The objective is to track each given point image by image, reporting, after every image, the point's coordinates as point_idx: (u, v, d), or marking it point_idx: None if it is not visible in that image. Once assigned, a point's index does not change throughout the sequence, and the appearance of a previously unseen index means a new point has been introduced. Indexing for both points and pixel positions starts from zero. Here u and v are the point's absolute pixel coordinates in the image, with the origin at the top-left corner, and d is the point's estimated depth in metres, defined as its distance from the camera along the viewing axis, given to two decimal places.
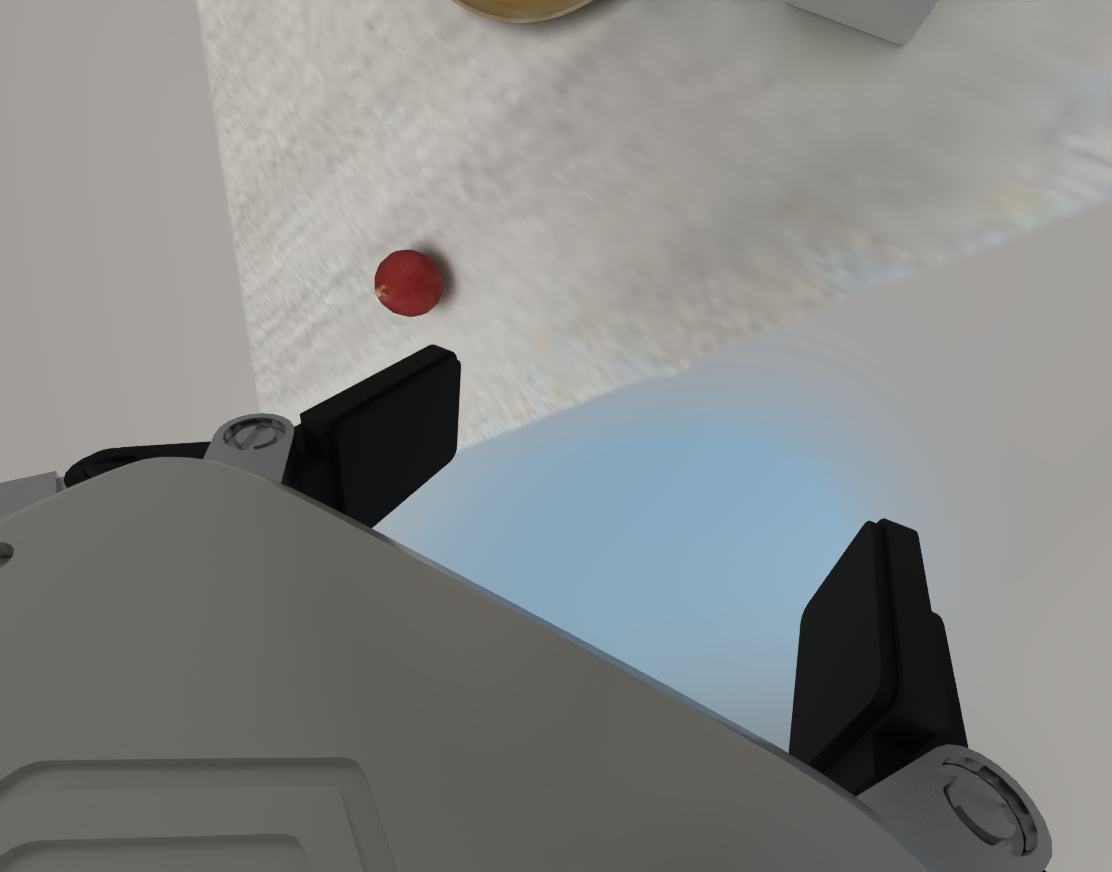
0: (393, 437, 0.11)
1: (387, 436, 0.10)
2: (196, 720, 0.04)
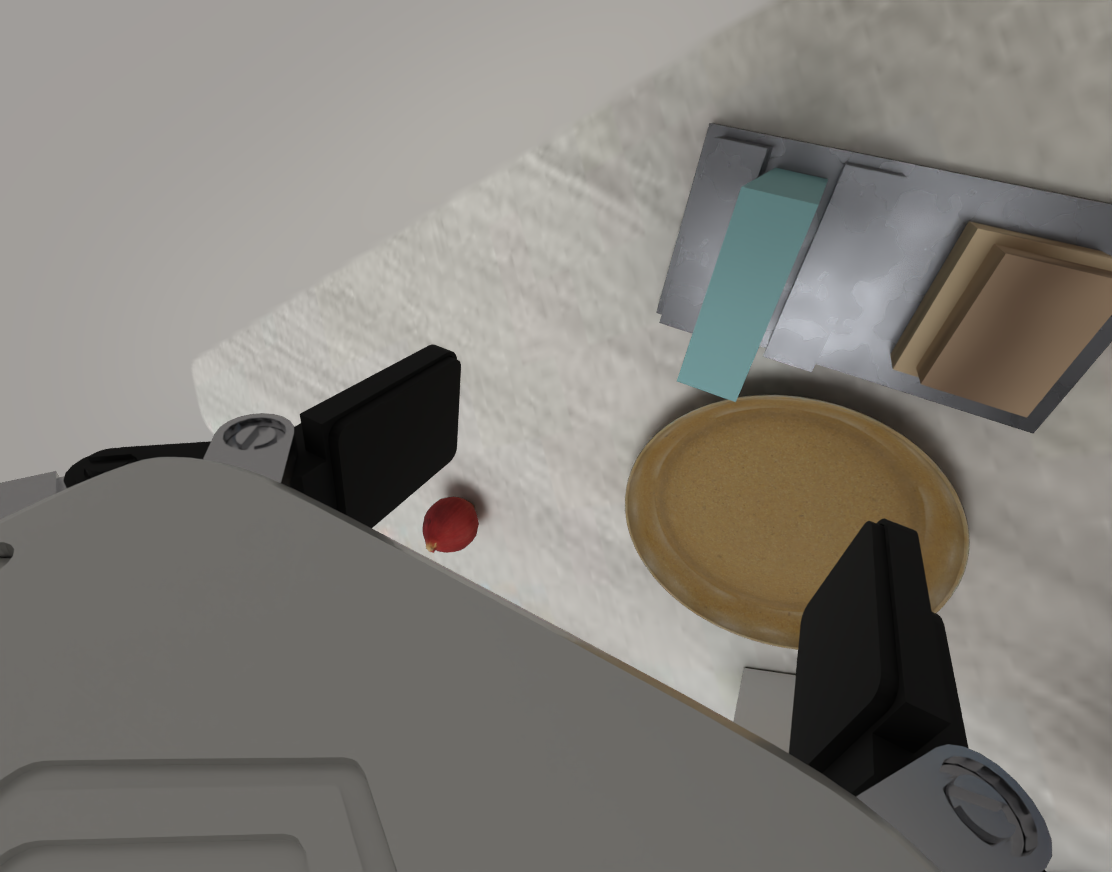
0: (393, 437, 0.11)
1: (387, 436, 0.10)
2: (196, 720, 0.04)
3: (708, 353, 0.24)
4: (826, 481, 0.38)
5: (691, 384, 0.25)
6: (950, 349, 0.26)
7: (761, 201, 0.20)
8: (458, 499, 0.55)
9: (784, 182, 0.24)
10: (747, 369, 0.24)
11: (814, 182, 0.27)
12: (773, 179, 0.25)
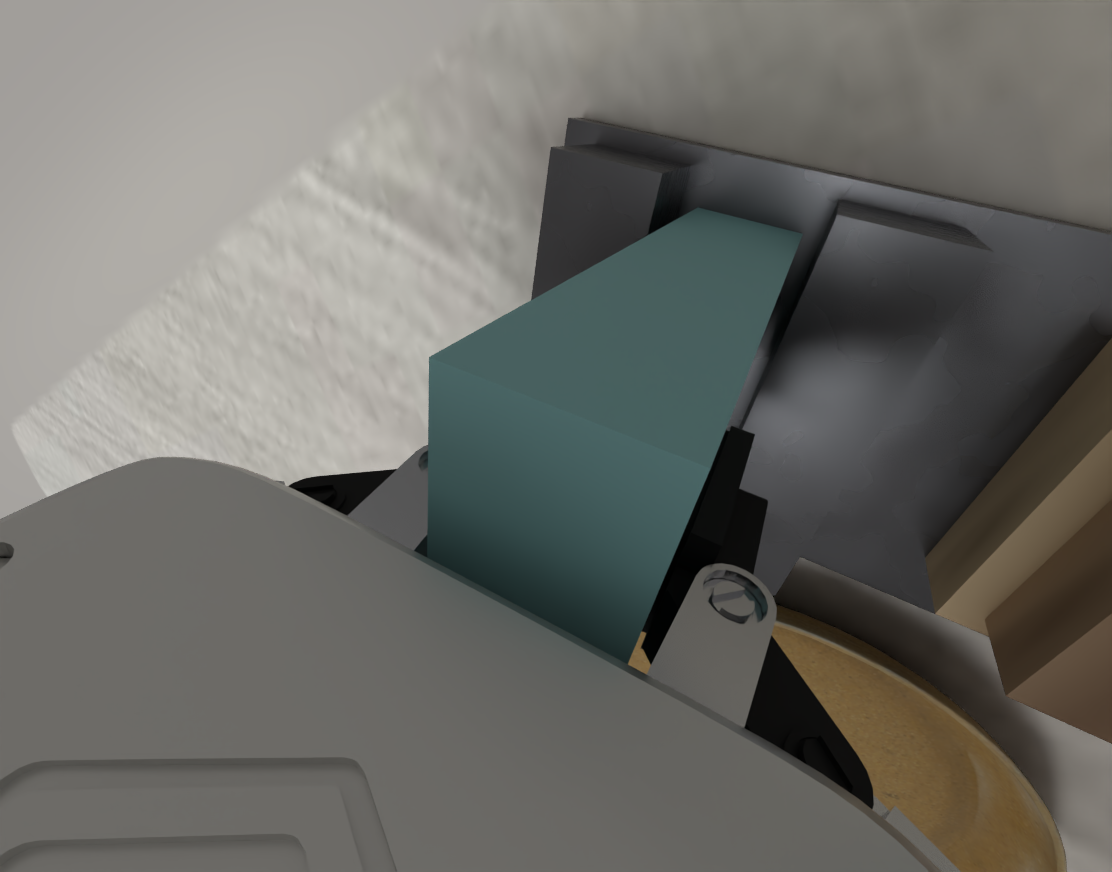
0: None
1: None
2: (196, 720, 0.04)
3: None
4: None
5: None
6: (1085, 650, 0.11)
7: (504, 415, 0.05)
8: None
9: (673, 273, 0.09)
10: None
11: (765, 255, 0.11)
12: (648, 262, 0.09)
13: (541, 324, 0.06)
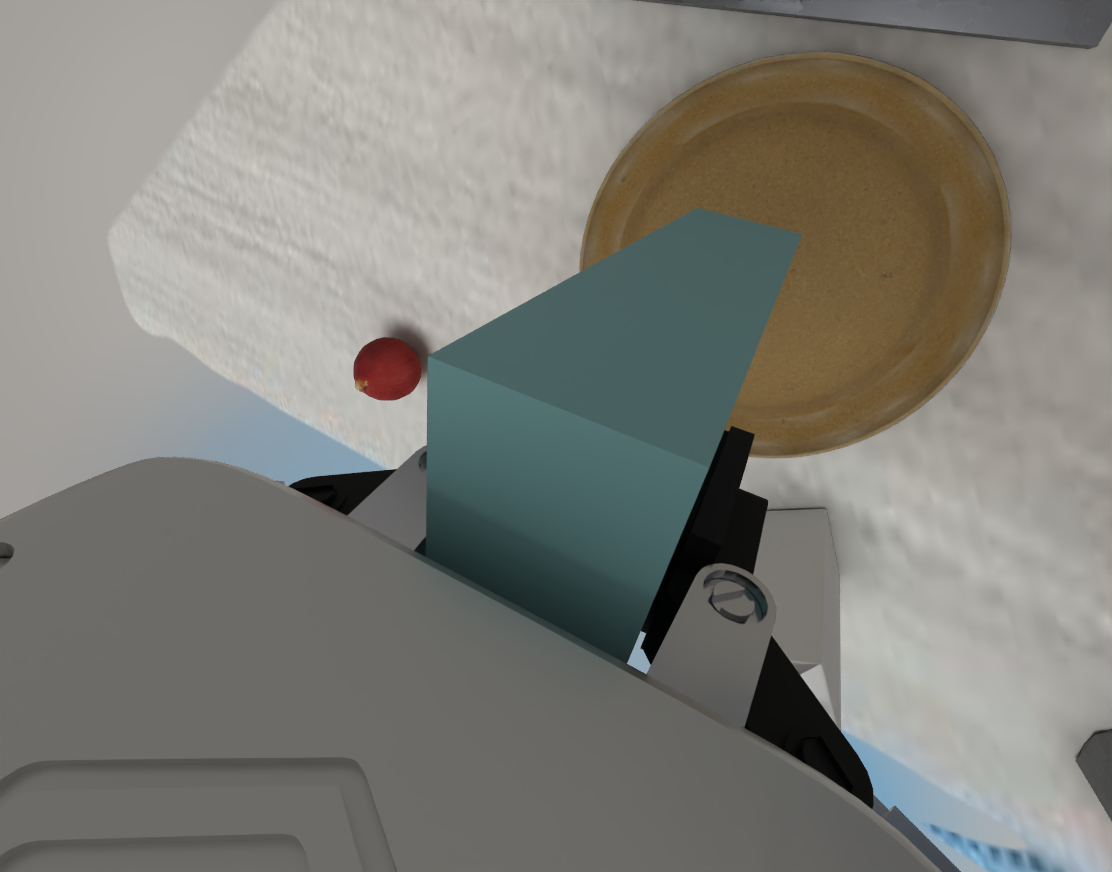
0: None
1: None
2: (196, 720, 0.04)
3: None
4: (823, 208, 0.30)
5: None
6: None
7: (502, 414, 0.05)
8: (395, 338, 0.48)
9: (672, 273, 0.09)
10: None
11: (764, 255, 0.11)
12: (647, 262, 0.09)
13: (540, 323, 0.06)
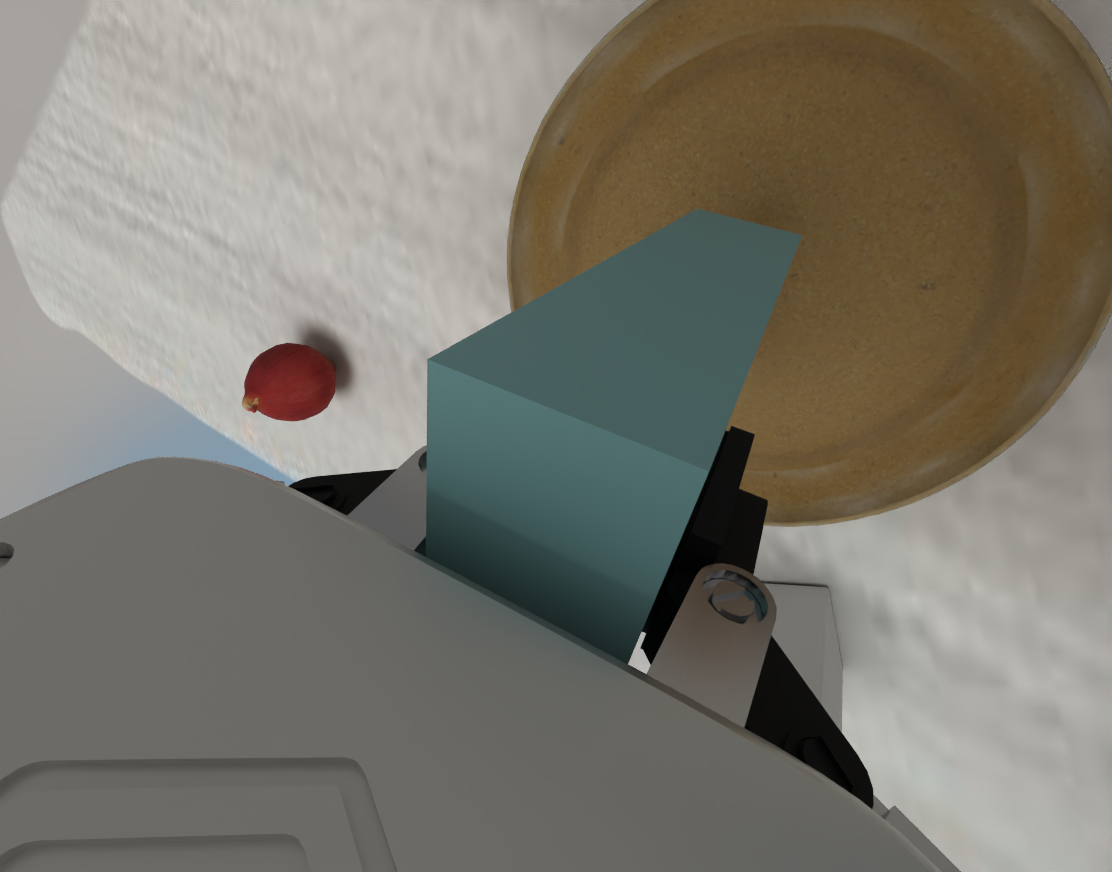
0: None
1: None
2: (196, 720, 0.04)
3: None
4: (838, 187, 0.21)
5: None
6: None
7: (502, 417, 0.05)
8: (302, 345, 0.38)
9: (672, 275, 0.09)
10: None
11: (764, 256, 0.11)
12: (647, 264, 0.09)
13: (540, 326, 0.06)
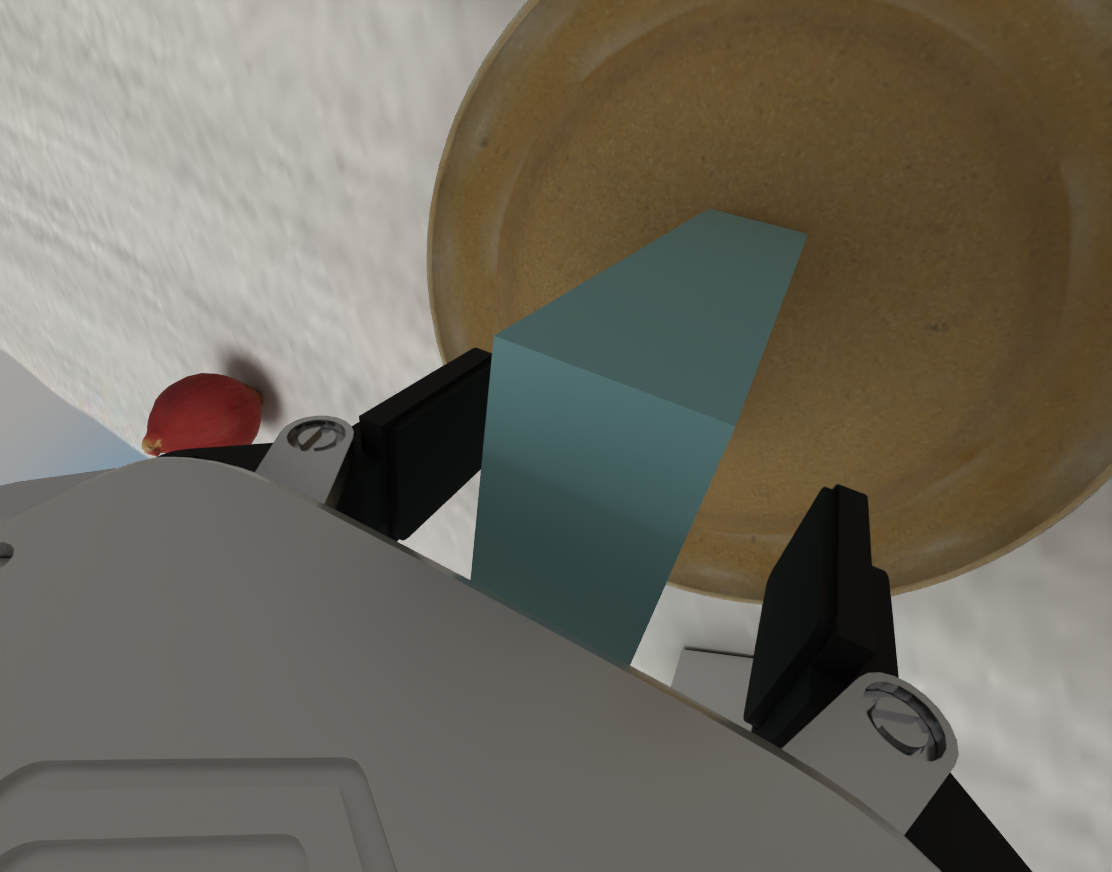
0: (442, 438, 0.11)
1: (437, 438, 0.11)
2: (196, 720, 0.04)
3: None
4: (825, 202, 0.17)
5: None
6: None
7: (556, 385, 0.06)
8: (218, 375, 0.34)
9: (691, 268, 0.10)
10: None
11: (773, 253, 0.12)
12: (668, 259, 0.10)
13: (582, 310, 0.07)
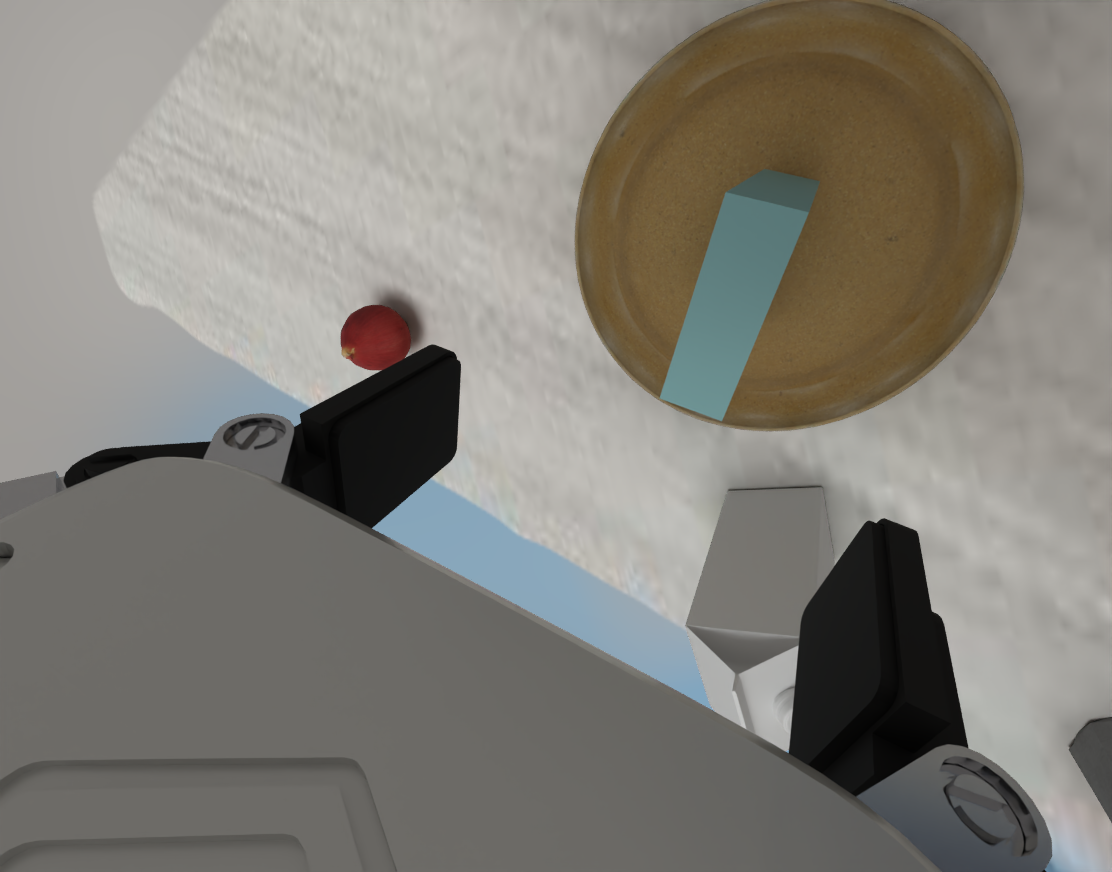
0: (393, 437, 0.11)
1: (387, 436, 0.10)
2: (196, 720, 0.04)
3: (692, 369, 0.23)
4: (828, 167, 0.29)
5: (675, 402, 0.24)
6: None
7: (747, 207, 0.19)
8: None
9: (773, 186, 0.23)
10: (734, 387, 0.22)
11: (805, 185, 0.25)
12: (761, 182, 0.23)
13: (744, 190, 0.20)
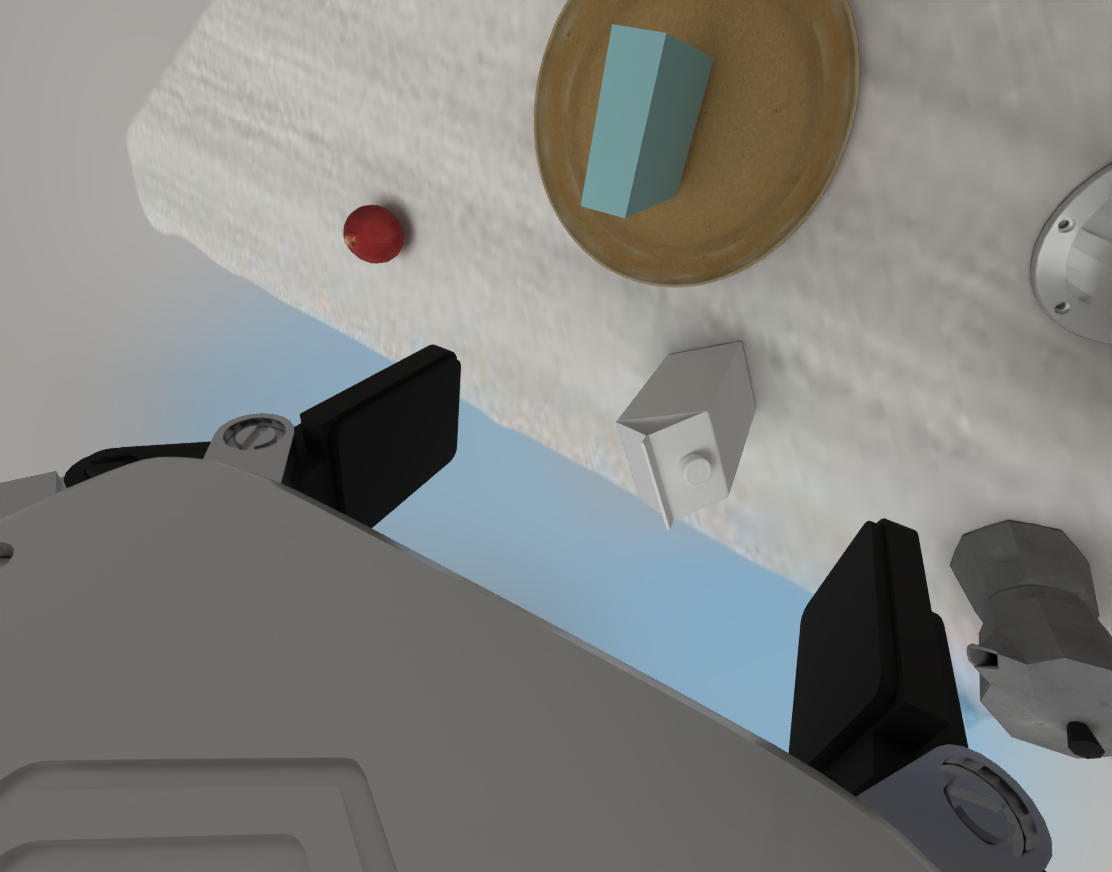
0: (393, 437, 0.11)
1: (387, 436, 0.10)
2: (196, 720, 0.04)
3: (601, 176, 0.31)
4: (726, 52, 0.37)
5: (591, 207, 0.32)
6: None
7: (627, 34, 0.27)
8: (381, 207, 0.54)
9: None
10: (630, 186, 0.30)
11: None
12: None
13: None
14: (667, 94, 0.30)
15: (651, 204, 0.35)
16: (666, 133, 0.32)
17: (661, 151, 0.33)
